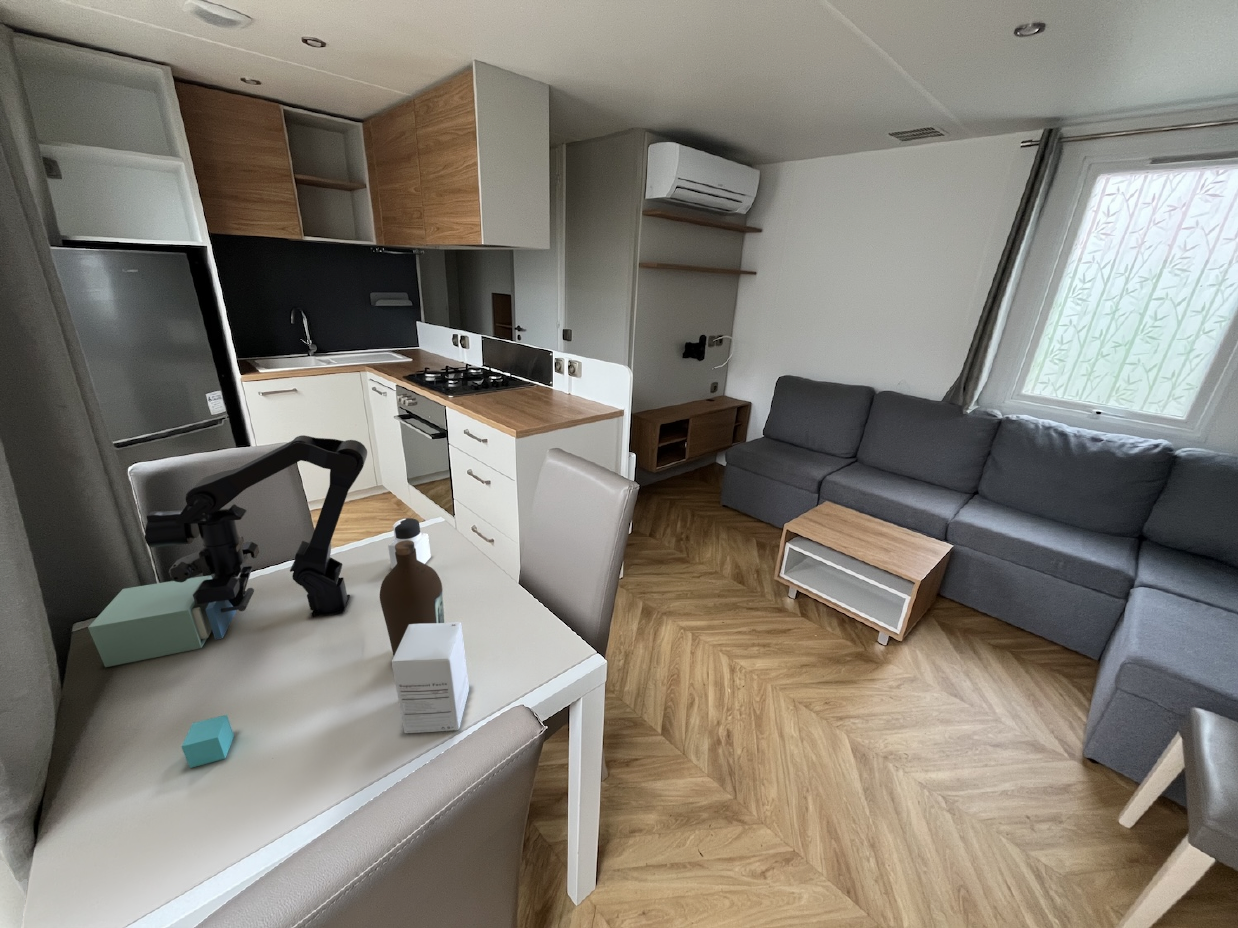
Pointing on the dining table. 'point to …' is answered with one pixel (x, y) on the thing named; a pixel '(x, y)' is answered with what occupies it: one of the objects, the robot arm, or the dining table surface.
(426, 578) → the olive oil
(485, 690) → the dining table surface
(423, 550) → the medicine bottle
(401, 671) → the white product box
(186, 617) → the cabinet
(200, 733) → the block
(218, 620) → the drawer
